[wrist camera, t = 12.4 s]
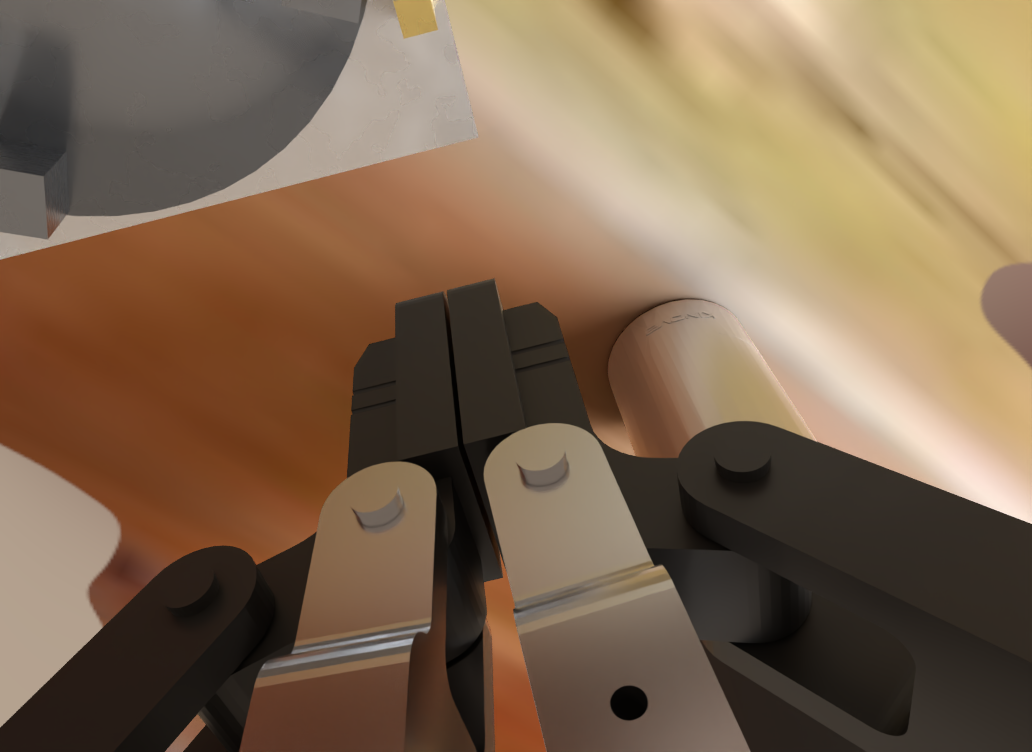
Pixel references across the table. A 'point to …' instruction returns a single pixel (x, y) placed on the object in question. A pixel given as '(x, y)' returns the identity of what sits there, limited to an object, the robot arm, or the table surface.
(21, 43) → the grey flat round piece
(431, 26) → the base plate
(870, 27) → the table surface
